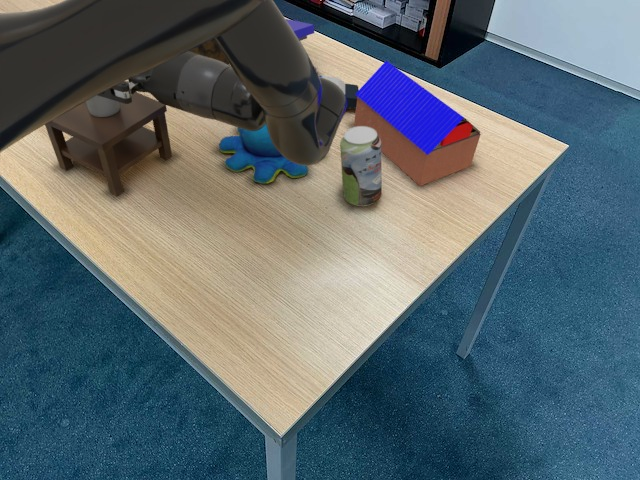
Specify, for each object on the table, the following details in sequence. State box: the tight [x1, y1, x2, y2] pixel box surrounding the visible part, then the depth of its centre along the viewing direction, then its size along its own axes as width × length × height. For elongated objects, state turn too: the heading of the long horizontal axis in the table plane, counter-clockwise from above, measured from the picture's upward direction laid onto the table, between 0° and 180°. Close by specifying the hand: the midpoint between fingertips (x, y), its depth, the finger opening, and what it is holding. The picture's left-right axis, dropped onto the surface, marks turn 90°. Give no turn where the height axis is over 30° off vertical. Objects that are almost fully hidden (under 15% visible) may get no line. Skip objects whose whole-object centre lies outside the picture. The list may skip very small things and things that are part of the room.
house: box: [353, 60, 482, 187], centre depth 93 cm, size 12×20×12 cm, turn 32°
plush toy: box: [218, 125, 309, 184], centre depth 91 cm, size 17×17×8 cm
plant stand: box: [44, 91, 173, 197], centre depth 86 cm, size 13×13×10 cm
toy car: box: [318, 74, 360, 109], centre depth 104 cm, size 5×16×5 cm, turn 88°
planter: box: [86, 95, 120, 117], centre depth 79 cm, size 4×4×10 cm
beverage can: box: [339, 126, 383, 207], centre depth 83 cm, size 6×7×12 cm
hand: (98, 53), depth 75 cm, fingers open, 8 cm apart
